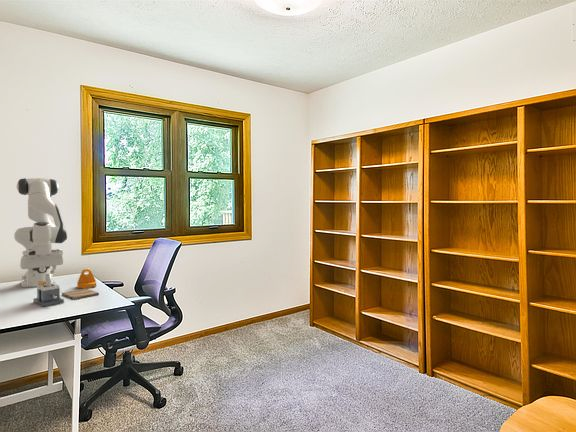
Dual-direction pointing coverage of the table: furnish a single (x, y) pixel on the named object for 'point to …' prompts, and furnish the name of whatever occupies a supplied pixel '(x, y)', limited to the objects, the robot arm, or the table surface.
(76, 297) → the board
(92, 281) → the orange rounded piece
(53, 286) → the loop
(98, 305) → the table surface
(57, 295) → the vise
